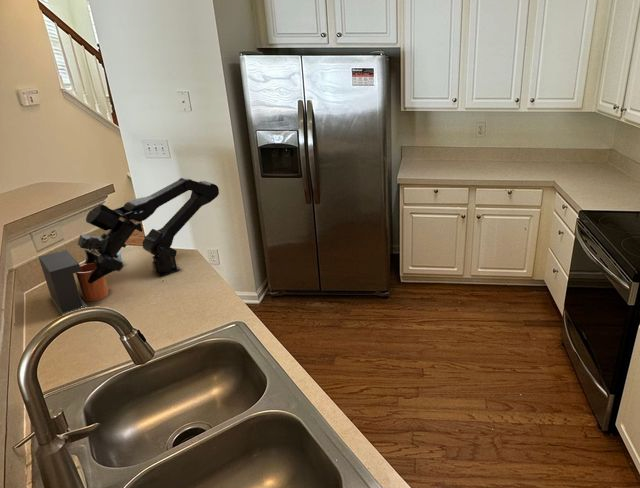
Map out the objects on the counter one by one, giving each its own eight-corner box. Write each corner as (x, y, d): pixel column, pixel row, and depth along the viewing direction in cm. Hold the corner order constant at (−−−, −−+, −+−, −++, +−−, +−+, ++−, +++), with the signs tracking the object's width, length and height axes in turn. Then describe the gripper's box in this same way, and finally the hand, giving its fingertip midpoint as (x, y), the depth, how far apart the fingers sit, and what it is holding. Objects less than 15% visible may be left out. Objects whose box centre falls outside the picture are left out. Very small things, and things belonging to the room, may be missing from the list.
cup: (104, 287, 142) (97, 260, 139) (111, 295, 138) (104, 267, 135) (80, 295, 138) (72, 267, 134) (86, 303, 133) (78, 275, 130)
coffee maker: (78, 291, 140) (66, 249, 135) (91, 307, 132) (79, 263, 126) (51, 299, 135) (38, 256, 130) (63, 316, 127) (49, 272, 121)
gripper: (83, 217, 138) (50, 258, 134) (102, 233, 127) (66, 279, 123) (117, 232, 146) (86, 272, 143) (137, 249, 135) (104, 293, 131)
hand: (85, 278), depth 135 cm, fingers closed on cup, 7 cm apart
